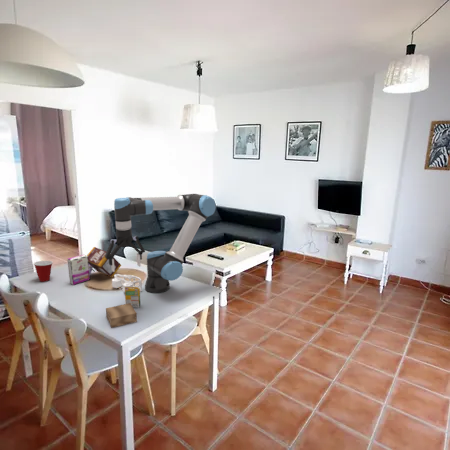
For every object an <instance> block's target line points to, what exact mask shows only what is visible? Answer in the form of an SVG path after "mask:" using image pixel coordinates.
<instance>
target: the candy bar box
mask: <svg viewBox="0 0 450 450" xmlns="http://www.w3.org/2000/svg"><path fill="white" fill-rule="evenodd" d="M66 260H67V268H68V278H69V284H72V286H75V285H78V284H80V283H83V282H87V281H90V280H89V279H91V278H90V277H91V274H90V275H89V264H88V256H87V254H81V255H76V256H72V257H68V258H67V259H66Z"/></svg>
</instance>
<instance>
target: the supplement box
mask: <svg viewBox="0 0 450 450" xmlns="http://www.w3.org/2000/svg"><path fill="white" fill-rule="evenodd" d="M106 252H107V250H104V249H100V248H98V247H96V246H94V247H92V249H90V251H89V252H88V253H87V254H86V256H88V263H89V264H90V265H91V266H92V267H94V268H93V270H94V271H95V272H98V273H100V274H102V275H105V276H107V275H108V277H109V276H110V278H113V277H114V275H115V274H117V272H118V270H120V268H121V266H122V264H121V263H120V261H119V260H117V259H116V258H115V256H114V257H113V259H114V268H115V272H113V271H112V268H111V266H110V265H109V259H106V258H105V254H106ZM112 276H113V277H112Z"/></svg>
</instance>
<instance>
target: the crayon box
mask: <svg viewBox="0 0 450 450" xmlns="http://www.w3.org/2000/svg"><path fill="white" fill-rule="evenodd" d="M138 287H139V286H138ZM138 287H125V292H124V296H125V297H124V298H125V301H124V304H128V303H130V304H131V305H132V307H133V308H140V307H141V292H140V288H138Z"/></svg>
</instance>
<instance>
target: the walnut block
mask: <svg viewBox="0 0 450 450" xmlns="http://www.w3.org/2000/svg"><path fill="white" fill-rule="evenodd" d="M105 318H106V319H107V321H108V323H109V326H110V327H111V328H116V327H120V326H125V325H129V324H133V323H137V322H138V313H137V311H136V309H135V307H132V305H131V304H130V303H128V304H125V303H124V304H119V305H115V306H110V307H106V308H105Z"/></svg>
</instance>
